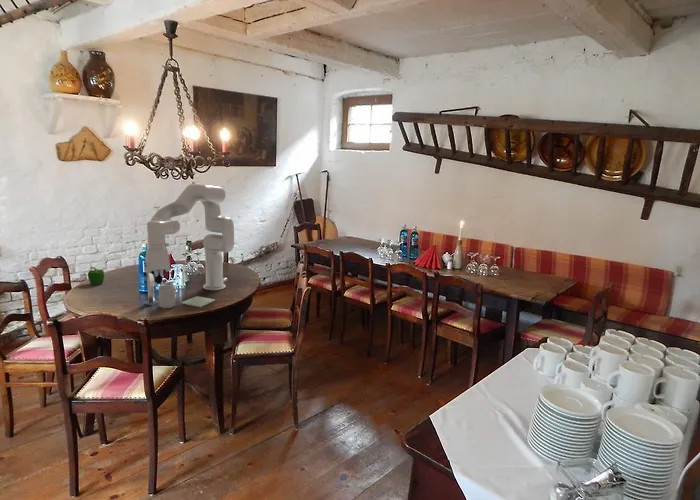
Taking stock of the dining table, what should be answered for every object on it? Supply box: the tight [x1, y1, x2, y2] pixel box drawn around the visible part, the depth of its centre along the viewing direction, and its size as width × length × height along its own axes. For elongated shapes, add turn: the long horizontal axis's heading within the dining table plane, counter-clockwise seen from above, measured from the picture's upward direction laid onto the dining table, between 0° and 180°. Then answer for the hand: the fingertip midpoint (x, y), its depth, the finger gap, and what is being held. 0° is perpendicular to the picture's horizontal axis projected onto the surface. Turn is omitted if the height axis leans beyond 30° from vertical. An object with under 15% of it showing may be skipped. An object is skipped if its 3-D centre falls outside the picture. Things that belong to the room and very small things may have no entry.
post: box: [143, 276, 159, 306], centre depth 231 cm, size 5×5×14 cm
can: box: [158, 282, 176, 309], centre depth 228 cm, size 8×8×12 cm
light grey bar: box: [145, 272, 156, 287], centre depth 222 cm, size 20×4×2 cm, turn 27°
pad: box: [181, 295, 216, 308], centre depth 238 cm, size 12×12×1 cm
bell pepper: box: [87, 266, 105, 286], centre depth 259 cm, size 8×8×10 cm
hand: (158, 283), depth 218 cm, fingers closed
